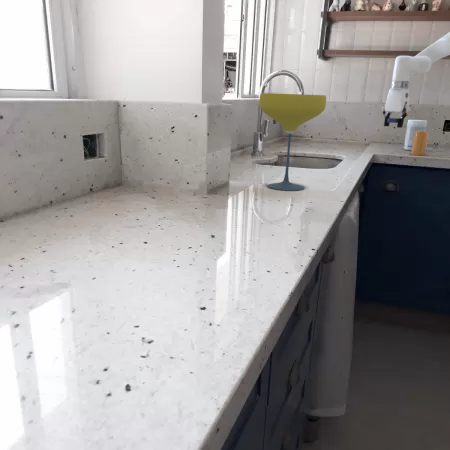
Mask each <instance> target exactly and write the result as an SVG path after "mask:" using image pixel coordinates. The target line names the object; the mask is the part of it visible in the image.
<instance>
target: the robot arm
mask: <svg viewBox="0 0 450 450" xmlns="http://www.w3.org/2000/svg"><path fill="white" fill-rule="evenodd" d="M448 56H450V31H449V32H447V33H446V34H445V35H443V36H441V37H440V38H438V39H437V40H436V41H435V42H433V43H432V44H430V45H428V46H427V47H426V48H424V49H423V50H422V51H420V52H418V53H417V54H416V55H415V56H411V55H398V56H396V58H395V60H394V66H393V72H392V78H391V85H390V88H389V89H388V93H387V96H386V100H385V104H384V105H383V106H382V107H381V108H380V109H381V112H382V114H383V117H384V122H383V127H389V126H390V122H387V119H388V118H391V115H392V113H398V116H399V117H398V123H396V124H397V125H396V128H397V129H401V128H403V126H404V122H405V119H406V117H407V116H409V114H410V113H411V112H412V108H411V107H410V106H409V105H410V89H409V87H411V83H410V78H411V75H413V76H418V75H419V76H420V75H424V74H426V73H428V72H429V71H430V70H431V68H432V64H434V63H435V62H437V61H439V60H440V59H443V58H447V57H448Z"/></svg>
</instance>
